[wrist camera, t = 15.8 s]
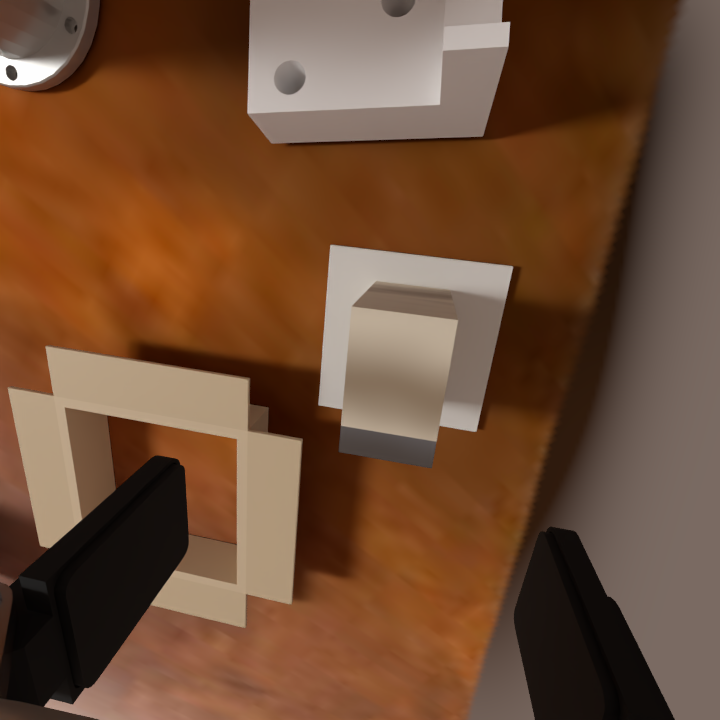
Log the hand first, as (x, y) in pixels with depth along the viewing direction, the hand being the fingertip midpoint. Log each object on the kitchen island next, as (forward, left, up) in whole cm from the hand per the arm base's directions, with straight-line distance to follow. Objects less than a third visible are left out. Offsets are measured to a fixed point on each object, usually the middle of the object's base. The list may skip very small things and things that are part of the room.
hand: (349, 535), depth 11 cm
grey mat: (0, 0, -20) cm, 20 cm away
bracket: (-17, -4, -20) cm, 27 cm away
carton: (+15, -18, -20) cm, 31 cm away
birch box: (0, 0, -19) cm, 19 cm away
